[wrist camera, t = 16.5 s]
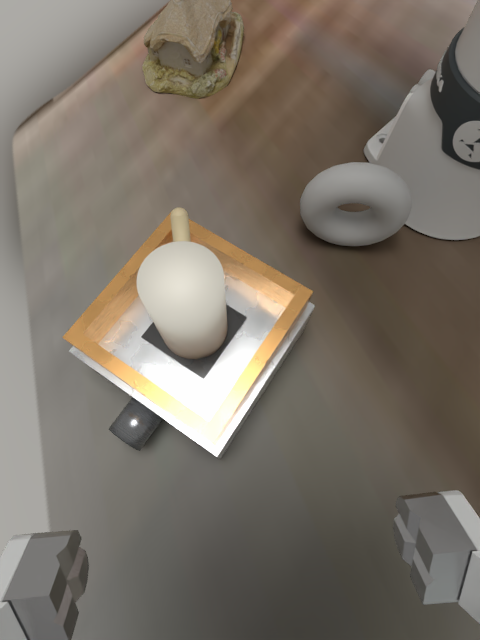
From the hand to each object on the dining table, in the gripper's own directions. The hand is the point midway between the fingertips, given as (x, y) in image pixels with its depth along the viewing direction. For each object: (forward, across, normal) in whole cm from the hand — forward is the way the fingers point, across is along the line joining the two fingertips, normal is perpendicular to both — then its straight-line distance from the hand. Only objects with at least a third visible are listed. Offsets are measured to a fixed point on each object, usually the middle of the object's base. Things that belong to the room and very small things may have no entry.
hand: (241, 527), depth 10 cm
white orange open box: (+25, +4, +10) cm, 27 cm away
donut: (+34, -13, +2) cm, 36 cm away
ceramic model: (+54, +1, -17) cm, 57 cm away
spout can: (+23, +3, +4) cm, 23 cm away
